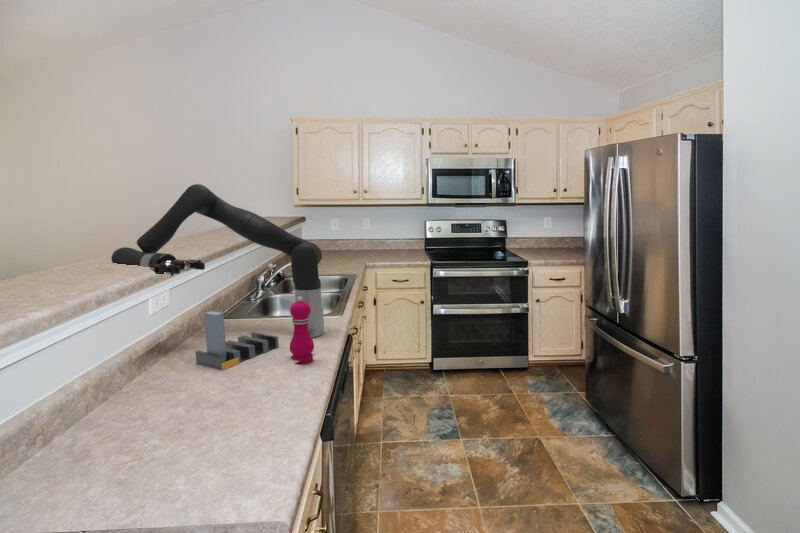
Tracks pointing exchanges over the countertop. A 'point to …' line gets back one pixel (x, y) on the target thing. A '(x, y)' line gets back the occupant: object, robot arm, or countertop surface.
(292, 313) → the pepper mill
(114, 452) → the countertop surface
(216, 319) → the panel
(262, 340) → the rack
